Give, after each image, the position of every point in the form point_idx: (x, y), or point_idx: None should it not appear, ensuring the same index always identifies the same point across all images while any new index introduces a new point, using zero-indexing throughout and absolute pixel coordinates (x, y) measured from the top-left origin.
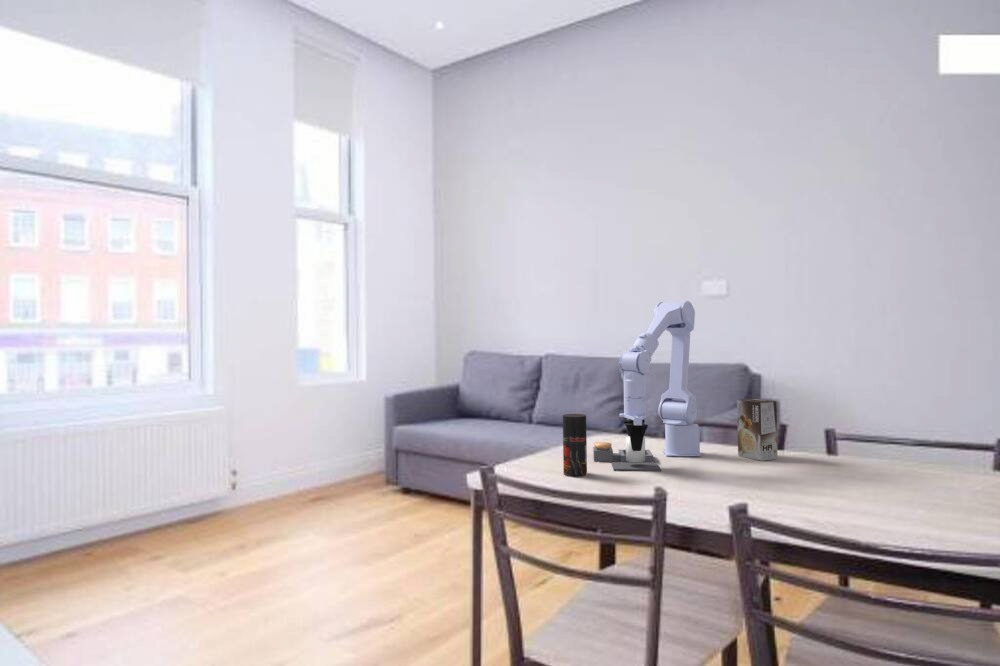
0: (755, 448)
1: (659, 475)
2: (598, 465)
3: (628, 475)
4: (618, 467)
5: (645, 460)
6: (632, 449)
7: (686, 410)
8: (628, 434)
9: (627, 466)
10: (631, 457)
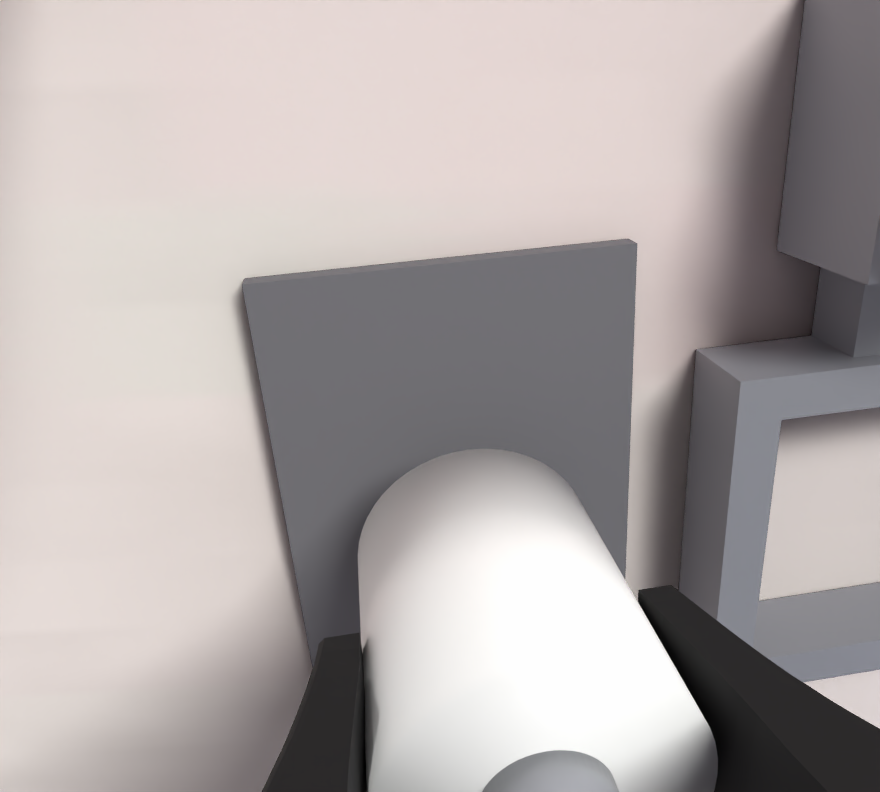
0: None
1: (132, 716)
2: (558, 55)
3: (36, 452)
4: (334, 338)
5: (690, 597)
6: (324, 648)
7: None
8: (748, 712)
9: (406, 437)
10: (368, 549)
